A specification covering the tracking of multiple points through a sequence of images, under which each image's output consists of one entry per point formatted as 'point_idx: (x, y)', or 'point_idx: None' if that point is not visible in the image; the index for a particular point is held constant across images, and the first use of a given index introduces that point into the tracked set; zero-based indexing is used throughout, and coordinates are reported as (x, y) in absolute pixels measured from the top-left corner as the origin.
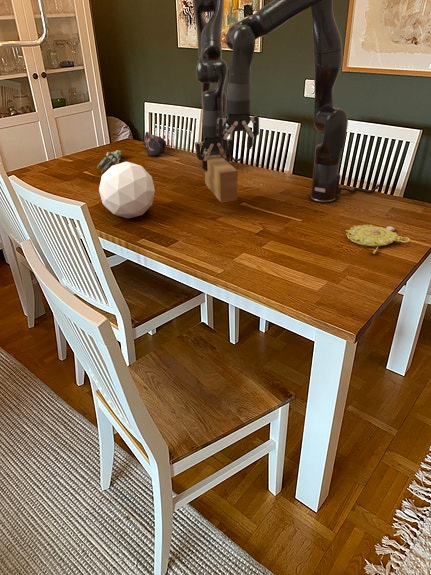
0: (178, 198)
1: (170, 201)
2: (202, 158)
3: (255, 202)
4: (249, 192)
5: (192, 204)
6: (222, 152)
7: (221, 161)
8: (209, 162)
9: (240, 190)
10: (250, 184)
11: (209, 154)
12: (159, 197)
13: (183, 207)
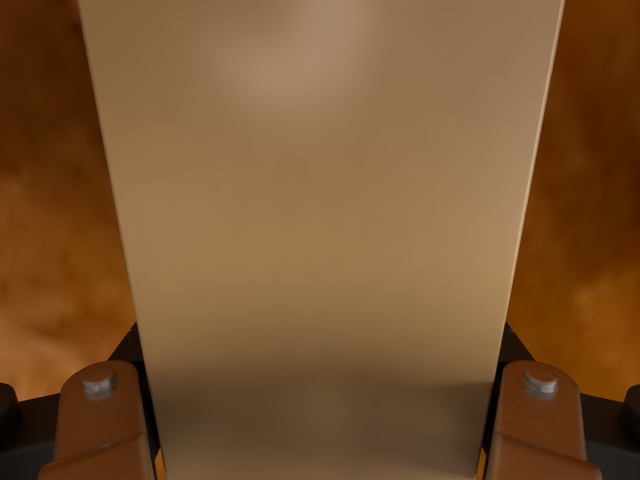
0: (526, 313)
1: (593, 284)
2: (596, 420)
3: (38, 59)
4: (57, 258)
5: None
6: (101, 461)
7: (239, 128)
8: (522, 205)
9: (112, 308)
10: (32, 376)
11: (493, 449)
12: (621, 362)
13: (564, 157)
